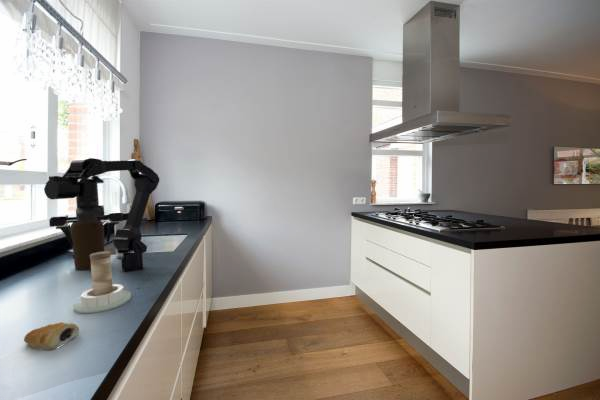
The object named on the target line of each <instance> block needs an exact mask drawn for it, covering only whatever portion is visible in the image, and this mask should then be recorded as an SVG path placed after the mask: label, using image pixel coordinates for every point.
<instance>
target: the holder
mask: <svg viewBox="0 0 600 400" xmlns="http://www.w3.org/2000/svg"><path fill="white" fill-rule="evenodd" d="M112 286H113V292H111V293H109V294H105V295H100V296H93V287H92V288H90V289H87V290H85V291H83V292H82V293H81V296H80V298H81V299H80V300H78V301H76V302H75V303H74V304H73V311H74V312H76V313H78V314H94V313H95V314H96V313H101V312H105V311H109V310H112V309H116V308H117V307H120V306H123V305H124V304H126V303H128V302H129V301H130V299H131V298H132V293H131V292H130V291H128V290H124V285H122V284H117V283H115V284H113V283H112Z"/></svg>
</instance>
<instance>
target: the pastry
mask: <svg viewBox="0 0 600 400" xmlns="http://www.w3.org/2000/svg"><path fill="white" fill-rule="evenodd" d="M79 331H80V328H79V326H77V324H74V323H72V322H71V323H67V322H62V321H61V322H58V323H57V322H56V323H53V324H48V325H45V326H40V327H39V328H35V329H32V330H31V331H29V332H28V333H26V334H25V336H24V338H23V341H24V343H26V344H27V345H28V346H30V347H32V348H31V349H34V350H36V349H37V350H40V349H42V350H41V351H53V350H52V349H55V348H57V347H59V346H61V345H63V344H64V345H65V343H66V344H67V343H68V342H69V341H72V340H73V339H74V338H76V336H78V334H79ZM64 345H63V346H64ZM61 347H62V346H61ZM59 348H60V347H59ZM57 349H58V348H57ZM55 350H56V349H55Z"/></svg>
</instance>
